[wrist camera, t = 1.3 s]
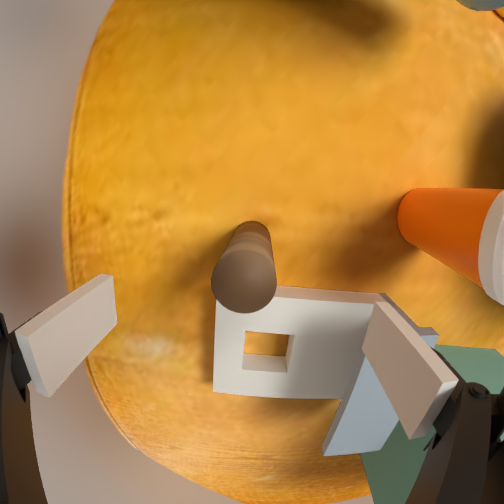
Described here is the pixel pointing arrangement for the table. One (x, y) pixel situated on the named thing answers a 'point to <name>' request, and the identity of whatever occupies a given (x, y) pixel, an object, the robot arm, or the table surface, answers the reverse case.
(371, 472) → the box
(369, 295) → the socket station
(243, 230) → the peg
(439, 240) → the shaker bottle
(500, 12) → the teapot
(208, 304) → the table surface
